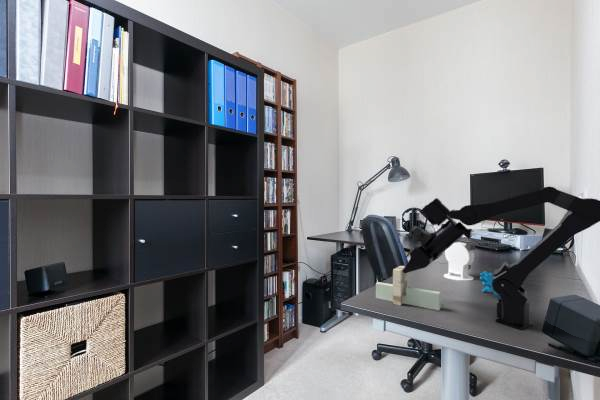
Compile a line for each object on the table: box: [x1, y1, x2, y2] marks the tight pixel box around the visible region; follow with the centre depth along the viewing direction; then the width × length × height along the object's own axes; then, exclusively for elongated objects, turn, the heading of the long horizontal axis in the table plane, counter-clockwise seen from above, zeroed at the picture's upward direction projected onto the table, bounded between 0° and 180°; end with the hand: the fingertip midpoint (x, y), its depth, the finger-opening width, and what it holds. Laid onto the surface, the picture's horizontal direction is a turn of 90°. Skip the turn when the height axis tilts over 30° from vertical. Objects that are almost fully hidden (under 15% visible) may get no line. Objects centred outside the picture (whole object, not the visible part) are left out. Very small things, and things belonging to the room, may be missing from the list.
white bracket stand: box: [443, 241, 477, 282], centre depth 133 cm, size 12×11×15 cm
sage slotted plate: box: [375, 281, 442, 311], centre depth 101 cm, size 20×2×5 cm, turn 55°
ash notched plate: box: [392, 265, 408, 307], centre depth 102 cm, size 7×2×11 cm, turn 145°
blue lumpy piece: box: [479, 270, 500, 298], centre depth 111 cm, size 11×6×10 cm
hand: (407, 269), depth 100 cm, fingers open, 9 cm apart
